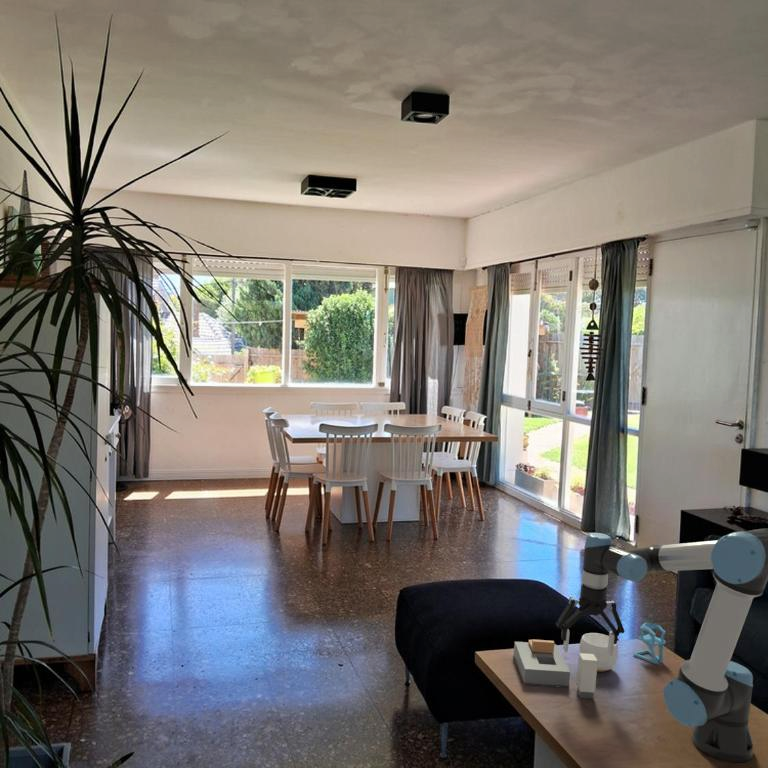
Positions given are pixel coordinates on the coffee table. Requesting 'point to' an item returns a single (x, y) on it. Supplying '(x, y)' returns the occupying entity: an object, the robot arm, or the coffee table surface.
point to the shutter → (542, 646)
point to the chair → (651, 643)
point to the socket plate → (541, 666)
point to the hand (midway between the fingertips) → (587, 652)
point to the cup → (599, 650)
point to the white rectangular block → (586, 675)
